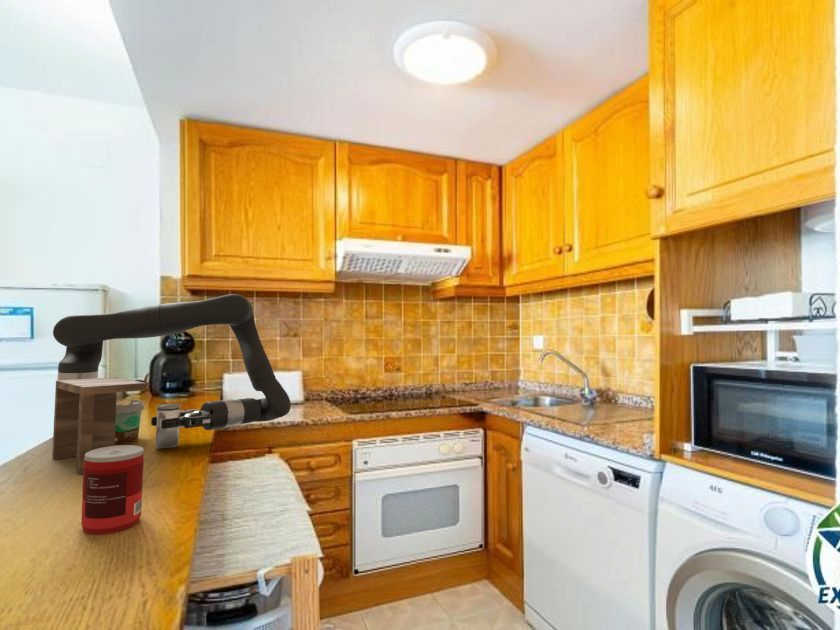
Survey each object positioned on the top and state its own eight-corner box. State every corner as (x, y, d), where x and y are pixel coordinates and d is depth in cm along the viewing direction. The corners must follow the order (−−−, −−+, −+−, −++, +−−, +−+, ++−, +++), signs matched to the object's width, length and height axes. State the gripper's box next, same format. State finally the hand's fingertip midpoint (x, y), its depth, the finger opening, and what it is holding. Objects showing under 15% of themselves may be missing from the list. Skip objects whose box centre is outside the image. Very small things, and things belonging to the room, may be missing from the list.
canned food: (130, 510, 76) (132, 442, 77) (149, 523, 71) (152, 450, 72) (73, 524, 70) (76, 451, 71) (90, 540, 65) (94, 460, 66)
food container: (124, 446, 118) (125, 406, 118) (100, 446, 118) (101, 406, 118) (153, 436, 130) (154, 399, 131) (131, 435, 130) (132, 399, 131)
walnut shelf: (52, 458, 106) (55, 380, 106) (112, 449, 115) (115, 377, 116) (79, 474, 95) (83, 387, 95) (143, 462, 104) (146, 382, 105)
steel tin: (151, 445, 116) (152, 405, 117) (173, 442, 120) (174, 403, 121) (160, 449, 113) (162, 407, 113) (182, 445, 117) (184, 405, 117)
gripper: (209, 397, 133) (144, 404, 119) (237, 403, 124) (170, 410, 110) (208, 424, 132) (143, 434, 119) (236, 431, 124) (169, 442, 110)
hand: (157, 422), depth 115 cm, fingers closed on steel tin, 5 cm apart
